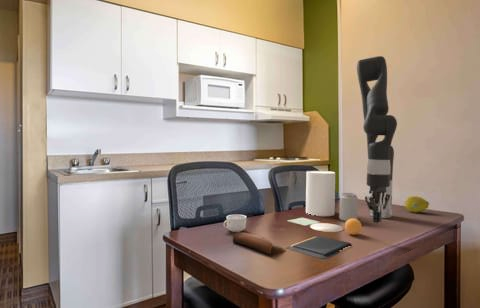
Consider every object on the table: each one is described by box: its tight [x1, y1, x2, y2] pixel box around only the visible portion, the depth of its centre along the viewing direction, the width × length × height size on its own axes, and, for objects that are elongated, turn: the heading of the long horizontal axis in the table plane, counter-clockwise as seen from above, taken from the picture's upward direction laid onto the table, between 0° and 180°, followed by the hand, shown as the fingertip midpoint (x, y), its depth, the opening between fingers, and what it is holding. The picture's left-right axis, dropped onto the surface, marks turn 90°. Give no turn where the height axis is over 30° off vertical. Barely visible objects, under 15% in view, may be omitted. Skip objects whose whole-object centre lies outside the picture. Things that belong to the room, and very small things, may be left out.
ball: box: [344, 218, 363, 236], centre depth 122 cm, size 6×6×6 cm
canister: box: [305, 170, 336, 217], centre depth 158 cm, size 14×14×20 cm
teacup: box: [222, 214, 247, 233], centre depth 125 cm, size 10×8×5 cm
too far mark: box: [287, 217, 321, 227], centre depth 141 cm, size 10×10×1 cm
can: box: [338, 192, 359, 223], centre depth 144 cm, size 8×8×12 cm
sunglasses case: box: [232, 232, 287, 257], centre depth 106 cm, size 18×7×7 cm
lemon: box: [404, 195, 430, 214], centre depth 162 cm, size 11×8×8 cm
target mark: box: [309, 222, 345, 233], centre depth 131 cm, size 13×13×1 cm
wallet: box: [285, 235, 353, 260], centre depth 107 cm, size 20×2×15 cm
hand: (377, 222), depth 114 cm, fingers closed
